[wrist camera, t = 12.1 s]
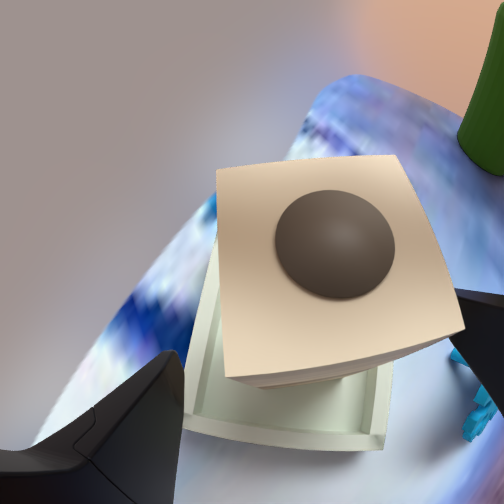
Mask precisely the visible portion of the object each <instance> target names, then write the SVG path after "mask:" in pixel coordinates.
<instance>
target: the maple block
mask: <svg viewBox="0 0 504 504" xmlns="http://www.w3.org/2000/svg"><path fill="white" fill-rule="evenodd" d="M216 179H217V180H216V181H217V182H216V183H217V228H218V258H219V282H220V302H221V321H222V337H223V352H224V367H225V377H226V378H229V379H232V380H235V381H238V382H241V383H244V384H247V385H250V386H253V387H257V388H260V389H263V390H265V389H274V388H283V387H290V386H298V385H304V384H311V383H317V382H323V381H329V380H334V379H339V378H344V377H347V376H350V375H354V374H357V373H360V372H363V371H366V370H369V369H372V368H375V367H377V366H380V365H383V364H386V363H388V362H391V361H394V360H396V359H399V358H402V357H404V356H407V355H409V354H412V353H414V352H416V351H419V350H421V349H423V348H426V347H428V346H430V345H433V344H435V343H437V342H439V341H441V340H443V339H446V338H448V337H450V336H452V335H454V334H456V333H458V332H460V331H462V330H464V329H465V326H464V322H463V318H462V314H461V310H460V307H459V303H458V300H457V296H456V293H455V290H454V287H453V284H452V280H451V277H450V274H449V272H448V269H447V266H446V263H445V260H444V258H443V255H442V252H441V250H440V247H439V244H438V242H437V239H436V237H435V235H434V232H433V230H432V227H431V225H430V223H429V220H428V218H427V216H426V214H425V212H424V209H423V207H422V205H421V203H420V201H419V199H418V197H417V195H416V193H415V191H414V189H413V187H412V185H411V183H410V181H409V179H408V177H407V175H406V173H405V171H404V170H403V168H402V166H401V164H400V162H399V161H398V159H397V157H396V155H367V156H344V157H327V158H313V159H301V160H290V161H280V162H271V163H262V164H253V165H246V166H238V167H231V168H224V169H217V170H216Z"/></svg>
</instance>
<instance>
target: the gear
mask: <svg viewBox="0 0 504 504" xmlns="http://www.w3.org/2000/svg"><path fill="white" fill-rule="evenodd" d="M450 358H451V359H452V360H454V361H456V362H458V363H461V364H463V365H465V366H467V367H469V366H468V364H467V363H466V362H465V360H464V359H463V358H462V356H461V355H460V354H459V352H458V351H457V350H456V348H454V349H453V351H452V353H451V357H450ZM473 401H474V402H476V403H478V404H479V406H478V408H477V409H476V410H475V411H472V412H471V413H470V414H469V415H468V417H467V419H466V421H465V423H464V425H463V427H462V430H464V433H463V436H462V437H463V438H464V439H465V440H467V441H469V442H470V443H471V442H472V440H473V439H474V438H475V436H476V435H477V436H479V435H480V434H481V433H482V431H483V430H484V428H485V426H486V424H487V422H488V420H491V419H492V418H493V416H494V415H495V414H496V412H497V410H498V408H497V406H496V405H495V403H494V402H493V400H492V399H491V397H490V396H489V394H488V393H487V391H486V390H485V388H484V387H483V385H482V384H481V386H480V388H479V390H478V392H477V394H476V396H475V398H474V400H473Z"/></svg>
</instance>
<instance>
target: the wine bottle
mask: <svg viewBox="0 0 504 504" xmlns="http://www.w3.org/2000/svg"><path fill="white" fill-rule="evenodd" d="M458 141H459V144H460V146H461V147H462V149H463V151H464V152H465V153H466V154H467V155H468V157H469V158H470V159H471V160H473V161H474V162H475V163H476V164H477V165H478V166H480V167H481V168H482V169H484V170H486V171H487V172H489V173H491V174H494V175H498V176H502V175H504V2H503V3H502V4H501V5H500V7H499V9H498V11H497V13H496V18H495V23H494V27H493V32H492V35H491V39H490V43H489V47H488V51H487V54H486V57H485V61H484V64H483V67H482V70H481V73H480V76H479V79H478V82H477V85H476V88H475V91H474V93H473V96H472V98H471V101H470V104H469V106H468V109H467V112H466V114H465V116H464V119H463V121H462V123H461V126H460V128H459V130H458Z"/></svg>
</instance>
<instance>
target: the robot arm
mask: <svg viewBox="0 0 504 504" xmlns="http://www.w3.org/2000/svg"><path fill="white" fill-rule="evenodd" d="M454 290H455V293H456V296H457V300H458V303H459V307H460V310H461V314H462V318H463V322H464V326H465V329H464V330H462V331H460V332H458V333H456V334H454V335H452V336H450V337H449V339H450V341H451V342H452V344H453V345H454V347H455V348H456V350H457V351H458V352H459V354H460V355H461V356H462V358H463V359H464V360H465V362H466V363H467V364H468V366H469V367H470V368H471V370H472V371H473V372H474V374H475V375H476V377H477V378H478V380H479V381H480V382H481V384H482V385H483V387H484V388H485V390H486V391H487V393H488V394H489V396H490V397H491V399H492V400H493V402H494V403H495V405H496V406H497V408H498V409H499V411H500V412H501V414H502V416H503V417H504V295H499V294H492V293H485V292H478V291H471V290H464V289H457V288H454ZM184 388H185V374H184V370H183V367H182V365H181V362H180V359H179V357H178V354H177V352H176V351H175V350H168V351H163V352H161V353H160V354H159V355H157V356H156V357H155V358H154V359H152V360H151V361H150V362H149V363H147V364H146V365H145V366H144V367H142V368H141V369H140V370H139V371H137V372H136V373H135V374H134V375H132V376H131V377H130V378H129V379H127V380H126V381H125V382H124V383H122V384H121V385H120V386H118V387H117V388H116V389H115V390H113V391H112V392H111V393H110V394H108V395H107V396H106V397H104V398H103V399H102V400H101V401H99V402H98V403H97V404H95V405H94V408H93V407H91V408H90V409H89V410H88V411H86V412H85V413H84V414H82V415H81V416H80V417H78V418H77V419H75V420H74V421H73V422H71V423H70V424H68V425H67V426H65V427H64V428H62V429H60V430H59V431H57V432H56V433H54V434H52V435H51V436H49V437H48V438H46V439H44V440H43V441H41V442H39V443H38V444H36V445H34V446H33V447H31V448H28V449H25V450H21V451H8V450H1V449H0V504H173V499H174V489H175V480H176V472H177V464H178V456H179V448H180V440H181V433H182V426H183V418H184Z"/></svg>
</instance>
